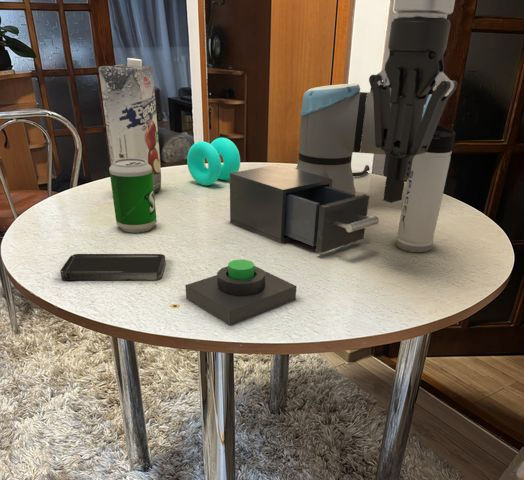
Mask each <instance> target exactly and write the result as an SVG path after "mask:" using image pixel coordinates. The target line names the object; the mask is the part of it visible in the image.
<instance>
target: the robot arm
mask: <svg viewBox="0 0 524 480" xmlns="http://www.w3.org/2000/svg"><path fill="white" fill-rule="evenodd" d="M455 3H456V0H388V8H387V14H386V15H387V16H386V24H385V30H384V31H385V32H384V40H383V47H382V54H381V55H382V56H381V61H380V62H381V63H380V72H378V73H377V74H371V75H370V76H369V78H368V83H369V86H370V89H369V91H368V92H366V91H365V92H363V91H361V87H360V84H359V83H339V84H329V85H323V86H317V87H312V88H309V89H308V90H306V91H305V92H304V93H303V96H302V100H301V101H302V103H301V109H300V110H301V111H300V113H299V115H300V128H299V130H300V131H299V143H298V144H299V146H298V158H297V159H298V161H297V165H296V168H295V169H297V170H301V171H304V172H308V173H312V174H315V175H319V176H323V177H326V178H330V179H332V188H335V189H338V190H342V191H345V192H349V193H352V194H355V197H356V196H357V193H356V192H357V191H356V187H355V182H354V177H361V176H364V175H365V174H367V172H370V166H369V165H368V164H365V166H364V169H363V170H362V171H357V172H353V169H352V158H353V154H354V153H357V154H371V155H385V159H384V165H383V171H382V174H383V177H385V184H384V185H385V186H384V192H383V197H382V202H383V201H384V202H386V203H391V204H392V203H395V202H399V201H403V194H404V187H405V181H407V179H409V177H410V173H411V167H412V162H413V158H414V156H415V155H418V154H422V153H426V152H427V150H428V147H429V145H430V142H431V140H432V137H433V135H434V132H435V130H436V127H437V125H439V123H440V120H441V117H442V115H443V112H444V110H445V107H446V104H447V103H448V100H449V98H451V96H452V95H453V93H454V92H455V91H456V89H457V88H458V81H457V80H455V79H453V80H451V79H450V78H449V77H448V76H447V75H446V74H445V72H444V71H445V65H444V54H445V52H446V50H447V46H448V40H449V36H450V35H449V34H450V30H451V23H452V22H451V21H450V19H447V18H448V15H451V14H453V12H454V9H455ZM431 90H432V91H433V92H432V93H429V92H430V91H431Z"/></svg>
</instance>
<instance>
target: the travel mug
mask: <svg viewBox="0 0 524 480" xmlns="http://www.w3.org/2000/svg"><path fill="white" fill-rule="evenodd" d="M455 137H456V131H455V130H453V129H452V128H449V127H445V126H443V124H438V125H437V127H436V130H435V132H434V135H433V137H432V140H431V142H430V145H429V147H428V150H427V152H426V153H422V154H418V155H415V156H414V158H413V162H412V167H411V173H410V177H409V179H407V180H406V183H405V189H404V193H403V194H404V195H403V199H402V204H401V205H402V206H401V210H400V211H401V212H400V218H399V223H398V230H397V235H396V241H395V245H396V247H397V248H399V250H400V249H401V250H402V251H406V252H409V253H410V252H411V253H426V252H429V251H430V250H432V246H433V243H434V241H433V240H434V237H435V232H436V230H437V229H436V228H437V224H438V219H439V214H440V210H441V205H442V200H443V196H444V191H445V186H446V181H447V177H448V172H449V168H450V164H451V157H452V153H453V146H454V141H455Z"/></svg>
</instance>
